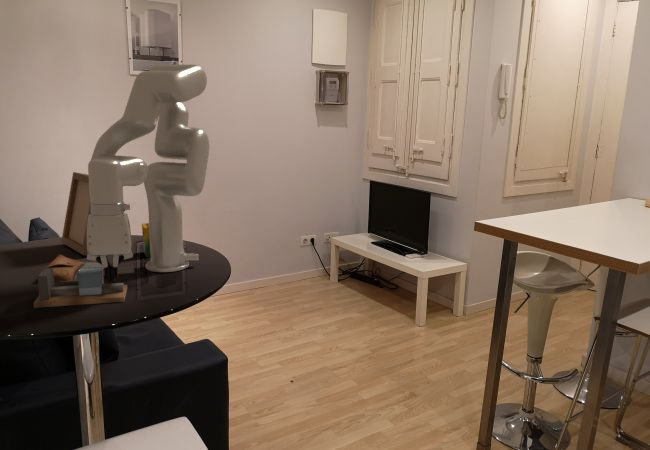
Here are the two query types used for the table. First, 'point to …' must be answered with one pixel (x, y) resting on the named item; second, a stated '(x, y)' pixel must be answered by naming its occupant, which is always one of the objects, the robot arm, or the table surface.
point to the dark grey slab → (46, 283)
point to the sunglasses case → (65, 268)
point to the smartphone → (123, 271)
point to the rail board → (83, 296)
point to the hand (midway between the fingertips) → (111, 281)
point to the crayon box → (146, 239)
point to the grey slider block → (90, 281)
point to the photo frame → (77, 214)
